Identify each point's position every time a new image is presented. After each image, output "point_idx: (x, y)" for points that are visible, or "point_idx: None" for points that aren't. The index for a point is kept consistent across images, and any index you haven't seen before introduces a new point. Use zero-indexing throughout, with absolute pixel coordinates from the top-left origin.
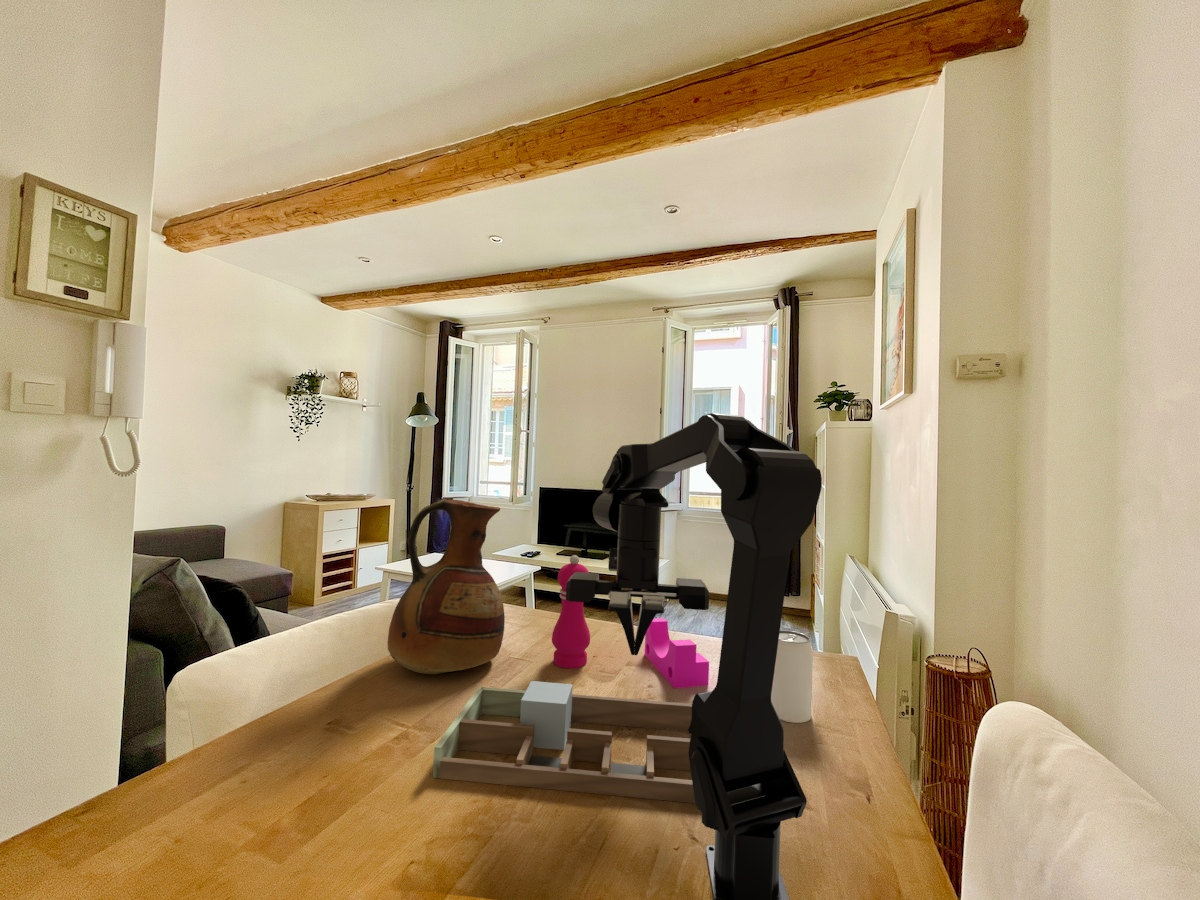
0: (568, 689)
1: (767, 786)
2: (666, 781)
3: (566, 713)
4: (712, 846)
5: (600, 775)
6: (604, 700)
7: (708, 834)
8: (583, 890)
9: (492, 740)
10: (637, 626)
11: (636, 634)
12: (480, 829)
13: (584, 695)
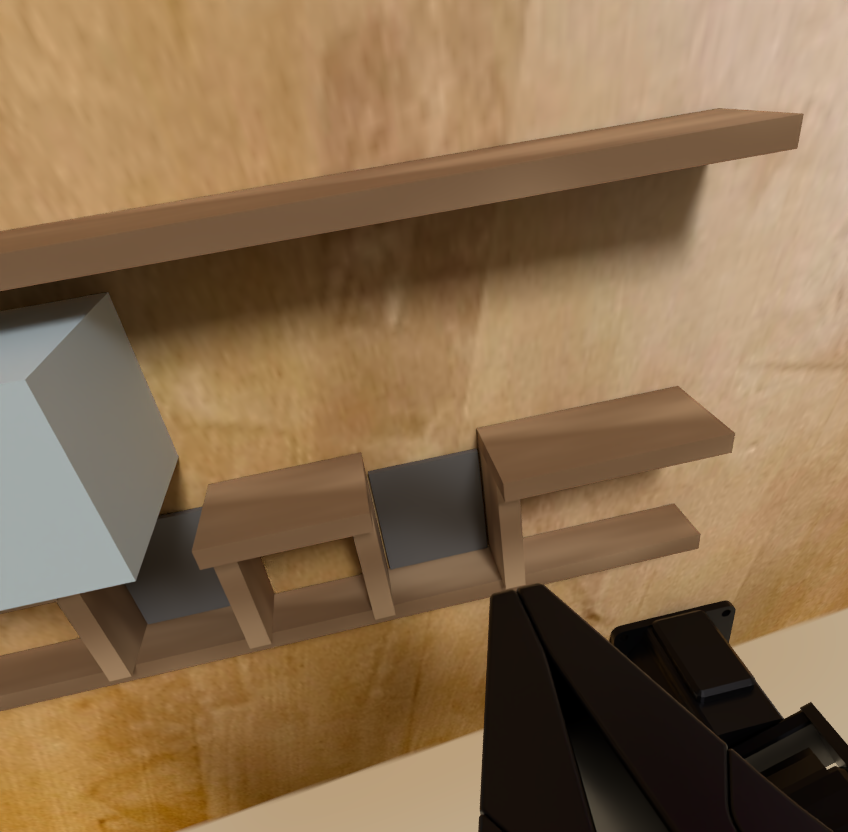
0: (46, 450)
1: (814, 729)
2: (555, 579)
3: (139, 520)
4: (626, 633)
5: (375, 622)
6: (235, 245)
7: (623, 598)
8: (409, 754)
9: None
10: (641, 808)
11: (600, 797)
12: (162, 745)
13: (93, 237)
